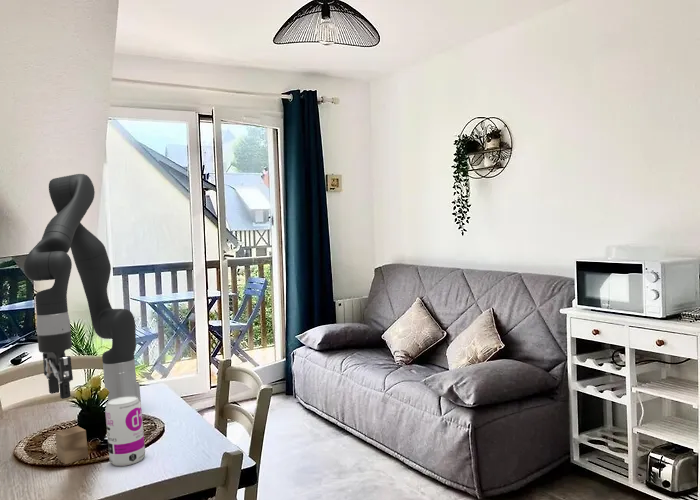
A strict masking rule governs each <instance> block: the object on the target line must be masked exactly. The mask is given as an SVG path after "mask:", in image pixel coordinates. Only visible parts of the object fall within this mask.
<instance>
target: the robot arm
mask: <svg viewBox="0 0 700 500" xmlns="http://www.w3.org/2000/svg"><path fill="white" fill-rule="evenodd" d="M48 193H49V196H50V199H51V202H52V205H53V207H54V209H55V212H56V214H55V215H54V216H53V217H52V218H51V219H50V221H48V223H47V225H46V227H45V229H44V232H43V234H42V237H41V239H40V241H38V242H37V243H36V244H35V246H34V247H33V248H32V249H31V250H30V251H29V252H28V254H27V256H25V257H26V258H25V259H24V263H23V272H24V274H25V276H26V277H27V278H28V279H29V280H31V281H36V282H38V281H39V282H40V281H52V280H54V282H53V285H52V286H51V287H50V288H47V289H43V290H40V291H38V292H36V294H35V297H34V298H35V300H34V301H35V309H36V333H37V334H36V335H37V345H38V352H39V353H41V354H42V360H43V361H42V364H43V375H44V376H45V377H46V379H47V382H48V392H49V394H51V395H53V394H57V393H59V398H60V399H62V400H65V399H69V398H70V397H71V387H70V383H71V381H73V380H74V377H73V368H72V366H73V365H72V359H71V356H70V355H68V356H66V353H65V351H66V350H67V351H68V350H70V349H71V348H72V347H73V341H72V331H71V319H70V317H69V316H70V315H69V312H68V311H69V309H68V298H67V297H68V288H69V287H68V286H69V281H70V276H71V272H72V266H73V265H72V264H73V263H72V258H73V261H74V264H75V266H76V270H77V272H78V275H79V278H80V280H81V284H82V287H83V290H84V295H85V297H86V301H87V305H88V309H89V314H90V319H91V325H92V326H93V329H94V332H95V334H96V335H97V336H98V337H99V338H101V339H104V340H111V348H110V349H109V350H106V351H104V352H103V353H102V355H101V359H102V360H101V361H102V368H103V369H102V372H103V381H104V382H103V383H104V389H105V388H107V389H108V390H109V392H110V393H109V395H108V401H110V400H112V399H115V398H119V397H125V396H136V397H138V400H139V401H140V403H141V404H142V400H141V398H142V397H141V387H140V382H137V373H136V372H137V371H136V362H135V360H136V359H135V351H136V349H137V340H136V339H137V337H136V336H137V335H136V333H137V332H136V330H137V329H136V320H135V317H134V314H133V313H132V311H130V310H129V309H125V308H112V305H111V302H110V299H109V297H108V285H109V281H110V276H111V272H112V271H111V270H112V266H111V261H110V259H109V255H108V251H107V249H106V246H105V245H104V243H103V242H102V241H101V240H100V239H99V238H98V237H97V236H96V235H94V234H93V233H92V232H91V231H90V230H89V229H87V228H86V227H85V226H84V224H82V223H81V221H82V220H83V218H84V217H85V215H86V213H87V212H88V210H89V208H90V207H91V206H92V203H93V202H94V199H95V194H96V191H95V186H94V183H93V181H92V179H91V178H90V176H88V175H87V174H85V173H76V174H75V173H74V174H71V175H65V176H59V177H55V178H52V179H50V180H49V183H48ZM70 251H71V255H72V258H71V257H70V255H69V254H68V253H69V252H70ZM108 401H107V402H106V401H105V405H106V406H107V403H108ZM141 410H143V409H142V408H141Z"/></svg>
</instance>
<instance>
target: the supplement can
mask: <svg viewBox="0 0 700 500" xmlns="http://www.w3.org/2000/svg"><path fill="white" fill-rule="evenodd" d="M141 409H142V402H141V403H140V401H139V400H138V397H136V396H125V397H119V398H115V399H112V400H110V401H108V403H107V406H106V407H105V409H104V410H105V412H104V413H105V424H106V435H107V444H108V445H107V446H108V456H109V462H110V464H112V465H113V466H116V467H124V466H130V465H133V464H136V463H138V462H141V461H142V460H143V459H144V457H145V456H146V445H145V434H144V425H143V423H144V422H143V413H142V412H143V411H142V410H143V409H142V410H141Z"/></svg>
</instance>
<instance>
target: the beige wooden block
mask: <svg viewBox="0 0 700 500" xmlns="http://www.w3.org/2000/svg"><path fill="white" fill-rule="evenodd" d="M54 433H55V436H54V437H55V445H56V447H55V448H56V457H57V460H59V462H61V463H63V464H64V465H68V464H72V463H74V462H77V461H80V460H83V459H84V460H85V459H87V458H89V452H88V451H89V450H88V441H87V430H86V429H84V428H82V427H80V426H79V425H76V426H73V427H70V428H65V429H62V430H58V431H55V432H54Z"/></svg>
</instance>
